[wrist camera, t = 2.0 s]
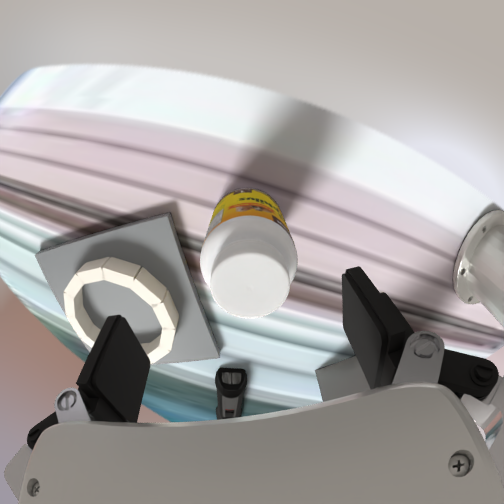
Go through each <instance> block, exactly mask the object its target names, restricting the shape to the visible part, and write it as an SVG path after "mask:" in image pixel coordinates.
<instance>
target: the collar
mask: <svg viewBox="0 0 504 504" xmlns="http://www.w3.org/2000/svg"><path fill="white" fill-rule="evenodd" d="M35 257H36V259H37V261H38V263H39V265H40V267H41V270H42V272H43V274H44V276H45V278H46V280H47V282H48V284H49V286H50V288H51V290H52V291H53V293H54V295H55V297H56V299H57V301H58V302H59V304H60V306H61V308H62V310H63V311H64V313H65V315H66V317H67V319H68V320H69V322H70V323H71V325H72V327H73V328H74V330H75V332H76V333H77V335H78V336H79V338H80V339H81V340H82V342H83V343H84V345H85V346H86V348H87V349H88V351H89V352H90V351H91V349H92V347H93V345H94V343H95V341H96V339H97V337H98V335H99V333H100V331H101V329H102V327H103V325H104V323H105V321H106V319H107V317H108V316H112V315H121V316H122V317H125V318H126V320H127V322H128V323H129V325H130V327H131V329H132V330H133V332H134V334H135V336H136V337H137V339H138V341H139V342H140V344H141V346H142V347H143V349H144V351H145V352H146V354H147V356H148V357H149V359H150V365H154V364H167V363H179V362H189V361H199V360H208V359H216V358H220V350H219V347H218V345H217V343H216V340H215V338H214V335H213V333H212V330H211V327H210V325H209V322H208V320H207V317H206V315H205V312H204V309H203V307H202V304H201V301H200V299H199V296H198V293H197V290H196V288H195V285H194V282H193V279H192V277H191V274H190V271H189V268H188V265H187V262H186V259H185V256H184V253H183V251H182V248H181V245H180V241H179V238H178V235H177V232H176V229H175V226H174V223H173V220H172V217H171V213H170V212H169V213H166V214H162V215H158V216H154V217H150V218H146V219H143V220H139V221H135V222H132V223H128V224H125V225H121V226H118V227H114V228H111V229H107V230H104V231H100V232H97V233H94V234H90V235H87V236H84V237H81V238H78V239H74V240H71V241H68V242H65V243H62V244H59V245H56V246H53V247H50V248H47V249H44V250H41V251H39V252H38V253H37V254H36V255H35Z"/></svg>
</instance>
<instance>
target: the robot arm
mask: <svg viewBox="0 0 504 504" xmlns="http://www.w3.org/2000/svg"><path fill="white" fill-rule="evenodd" d="M453 285H454V289H455V293H456V294H457V296H458V297H459V298H460V299H461V300H462V301H463V302H464V303H466V304H477V303H480V302H481V303H482V304H483V305H484V306H485V308H486V309H487V310H488V311H489V312H490V313H491V314H492V315H493V316H494V317H495V318H496V319H497V321H498V322H499V323H500V324H501V325H502V326H503V327H504V211H502V210H495V211H491V212H489V213H487V214H486V215H484V216H483V217H482V218H481V219H479V221H478V222H477V223H476V224H475V225H474V226H473V227H472V229H471V230H470V232H469V233H468V235H467V237H466V238H465V240H464V242H463V244H462V246H461V249H460V251H459V253H458V256H457V259H456V263H455V268H454V274H453ZM342 298H343V327H344V331H345V333H346V335H347V337H348V340H349V342H350V344H351V346H352V348H353V350H354V353H355V355H356V357H357V359H358V362H359V364H360V366H361V368H362V371H363V373H364V375H365V377H366V380H367V382H368V384H369V387H370V389H371V390H367V391H363V392H359V393H356V394H352V395H349V396H345V397H341V398H337V399H333V400H329V401H325V402H321V403H316V404H312V405H308V406H303V407H299V408H294V409H289V410H283V411H278V412H272V413H266V414H260V415H253V416H246V417H238V418H230V419H220V420H209V421H195V422H174V423H137V419H138V415H139V411H140V406H141V402H142V398H143V393H144V389H145V385H146V381H147V377H148V373H149V369H150V359H149V357H148V356H147V354H146V352H145V351H144V349H143V347H142V346H141V344H140V342H139V341H138V339H137V337H136V336H135V334H134V332H133V330H132V329H131V327H130V325H129V323H128V322H127V320H126V318H125V317H122V316H121V315H112V316H108V317H107V319H106V321H105V323H104V325H103V327H102V329H101V331H100V333H99V335H98V337H97V339H96V341H95V343H94V345H93V347H92V349H91V351H90V353H89V355H88V358H87V360H86V362H85V364H84V366H83V369H82V371H81V373H80V375H79V378H78V380H77V382H76V384H77V385H78V386H79V388H78V390H77V389H75V388H67V389H65V390H63V391H62V392H61V393H60V394H59V395H58V396H57V398H56V400H55V404H54V406H55V412H54V413H53V414H51V415H50V416H48V417H47V418H45V419H44V420H43V421H41V422H40V423H38V424H37V425H35V426H34V427H33V428H32V429H31V430H30V431H29V434H28V437H27V444H28V446H27V445H26V444H24V445H23V447H22V448H21V449H20V450H19V451H18V453H17V454H16V455H15V456H14V457H13V459H12V460H11V461H10V462H9V463H8V465H7V466H6V468H5V471H4V476H5V479H6V481H7V483H8V485H9V486H10V488H11V490H12V491H13V493H14V495H15V496H16V498H17V499H18V501H19V503H18V504H504V377H501V376H499V373H498V370H497V367H496V366H495V365H494V364H493V363H492V362H491V361H489V360H487V359H484V358H480V357H475V356H471V355H467V354H463V353H459V352H455V351H451V350H447V349H444V342H443V340H442V339H441V338H440V336H438V335H437V334H435V333H433V332H430V331H419V332H416V333H415V332H414V331H413V330H412V328H411V327H410V325H409V324H408V323H407V321H406V320H405V318H404V317H403V316H402V314H401V313H400V311H399V310H398V309H397V307H396V306H395V305H394V303H393V302H392V301H391V299H390V298H389V297H388V295H387V294H386V293H384V292H383V293H380V292H379V291H378V290H377V288H376V287H375V286H374V284H373V283H372V282H371V280H370V279H369V278H368V276H367V275H366V274H365V272H364V271H363V270H362V269H361V267H354V268H350V269H347V270H346V273H345V274H342ZM473 419H474V420H475V421H476V422H474V420H473ZM476 424H477V425H478V426H480V427H481V428H482V429H483V430H484V432H485V435H486V441H484V439H483V437H482V435H481V433H480V431H479V429H478V427H477V425H476Z"/></svg>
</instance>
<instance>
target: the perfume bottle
mask: <svg viewBox="0 0 504 504" xmlns="http://www.w3.org/2000/svg"><path fill="white" fill-rule="evenodd" d="M315 372H316V376H317V380H318V384H319V387H320V391H321V395H322V400H323V402H325V401H329V400H333V399H337V398H341V397H345V396H349V395H352V394H356V393H359V392H363V391H367V390H371V389H370V387H369V384H368V382H367V380H366V377H365V375H364V373H363V371H362V368H361V366H360V364H359V362H358V359H357V357H356V356H353V357H351V358H348V359H346V360H343V361H340V362H338V363H335V364H332V365H329V366H327V367H324V368H321V369H318V370H315Z"/></svg>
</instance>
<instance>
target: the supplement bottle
mask: <svg viewBox="0 0 504 504" xmlns="http://www.w3.org/2000/svg"><path fill="white" fill-rule="evenodd" d="M297 263H298V258H297V251H296V248H295V245H294V241H293V239H292V237H291V235H290V232H289V230H288V227H287V225H286V222H285V220H284V218H283V215H282V213H281V210H280V208H279V206H278V205H277V203H276V202H275V200H274V199H273V198H272V197H271V196H269V195H268V194H267V193H265V192H263V191H260V190H258V189H253V188H242V189H237V190H234V191H232V192H230V193H228V194H227V195H225V196H224V197H223V198H222V199H221V200H220V201H219V203H218V204H217V206H216V207H215V210H214V212H213V215H212V218H211V221H210V224H209V228H208V231H207V234H206V237H205V240H204V243H203V247H202V250H201V256H200V266H201V272H202V275H203V277H204V280H205V281H206V283H207V285H208V286H209V287H210V289H211V293H212V296H213V298H214V300H215V302H216V303H217V304H218V305H219V306H220V307H221V308H222V309H223V310H224V311H226V312H227V313H229V314H231V315H234V316H237V317H241V318H258V317H262V316H265V315H268V314H270V313H272V312H274V311H275V310H277V309H278V308H279V307H280V306H281V305H282V304H283V303H284V301H285V300H286V298H287V296H288V293H289V290H290V284H291V282H292V280H293V279H294V276H295V274H296V270H297Z"/></svg>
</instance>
